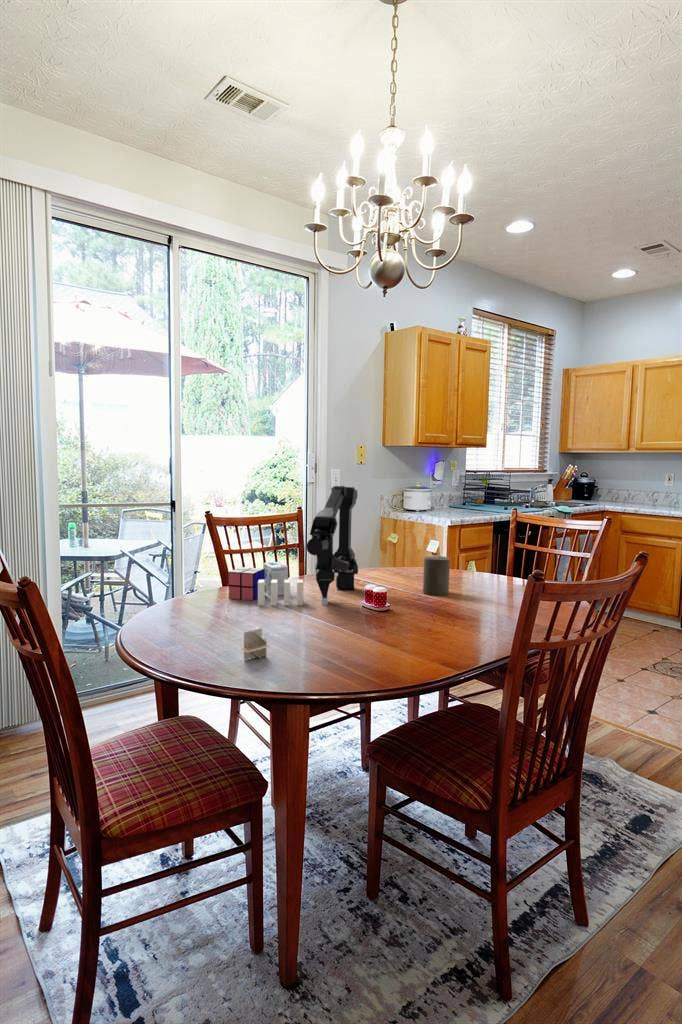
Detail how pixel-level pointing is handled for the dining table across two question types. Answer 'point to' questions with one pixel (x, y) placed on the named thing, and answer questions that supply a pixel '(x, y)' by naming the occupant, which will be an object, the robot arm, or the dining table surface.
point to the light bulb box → (275, 576)
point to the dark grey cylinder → (436, 575)
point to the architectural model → (254, 644)
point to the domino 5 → (324, 600)
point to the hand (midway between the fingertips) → (324, 594)
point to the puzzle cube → (245, 583)
